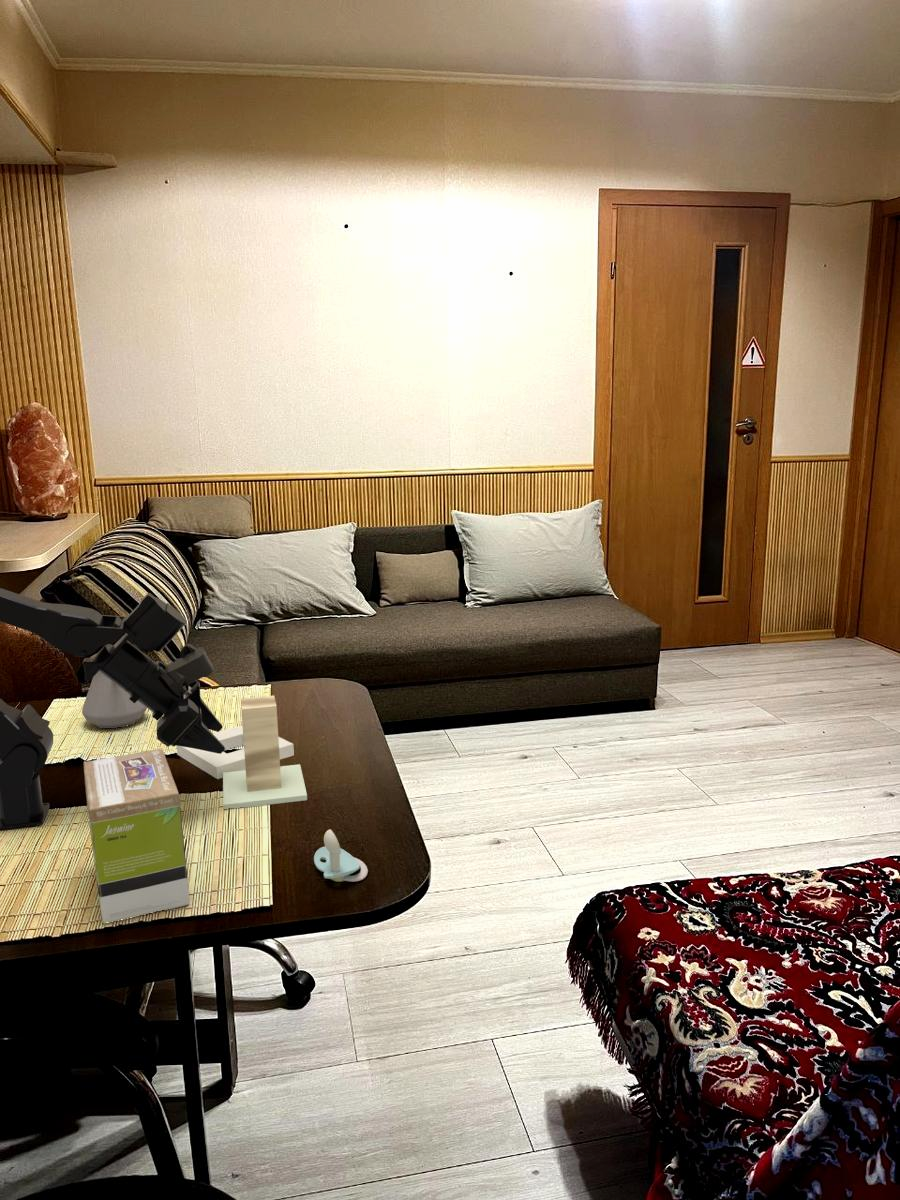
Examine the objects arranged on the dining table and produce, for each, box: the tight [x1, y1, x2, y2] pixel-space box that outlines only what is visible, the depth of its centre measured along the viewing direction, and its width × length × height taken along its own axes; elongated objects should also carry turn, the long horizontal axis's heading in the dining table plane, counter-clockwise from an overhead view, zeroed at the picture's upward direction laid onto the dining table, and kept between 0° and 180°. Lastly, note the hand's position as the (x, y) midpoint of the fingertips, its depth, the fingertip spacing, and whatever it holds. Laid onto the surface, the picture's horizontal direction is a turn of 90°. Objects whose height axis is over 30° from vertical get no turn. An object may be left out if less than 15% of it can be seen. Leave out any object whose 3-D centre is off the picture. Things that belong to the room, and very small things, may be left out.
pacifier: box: [313, 829, 369, 883], centre depth 114 cm, size 7×6×6 cm
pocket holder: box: [176, 724, 295, 780], centre depth 153 cm, size 14×14×2 cm
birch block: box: [240, 695, 281, 792], centre depth 138 cm, size 5×5×13 cm
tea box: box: [83, 748, 191, 924], centre depth 110 cm, size 15×10×15 cm, turn 24°
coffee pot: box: [81, 653, 148, 729], centre depth 164 cm, size 21×12×15 cm, turn 27°
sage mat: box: [222, 763, 308, 810], centre depth 139 cm, size 12×12×1 cm
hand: (221, 739), depth 136 cm, fingers open, 9 cm apart
